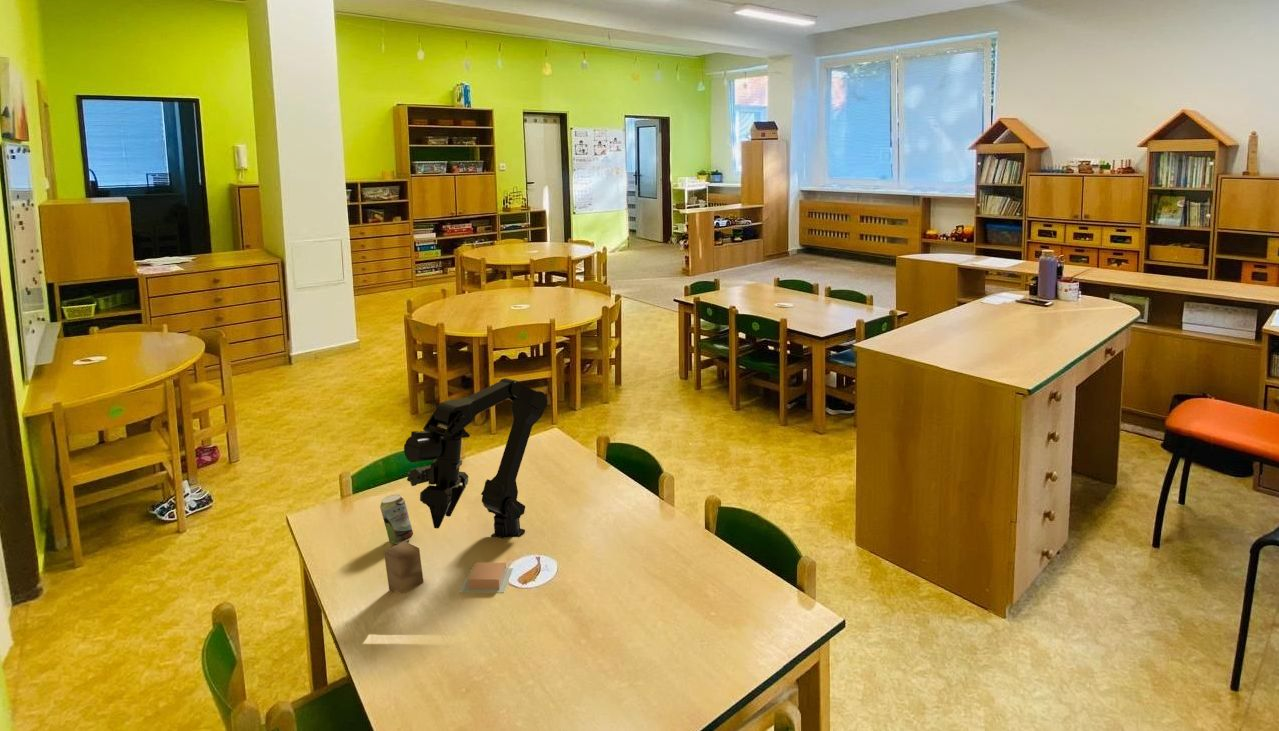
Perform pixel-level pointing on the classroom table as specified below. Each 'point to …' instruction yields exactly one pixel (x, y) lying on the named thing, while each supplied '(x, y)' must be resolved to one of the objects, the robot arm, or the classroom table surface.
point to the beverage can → (396, 519)
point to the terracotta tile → (487, 576)
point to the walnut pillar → (403, 567)
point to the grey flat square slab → (466, 589)
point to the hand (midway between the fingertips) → (442, 522)
